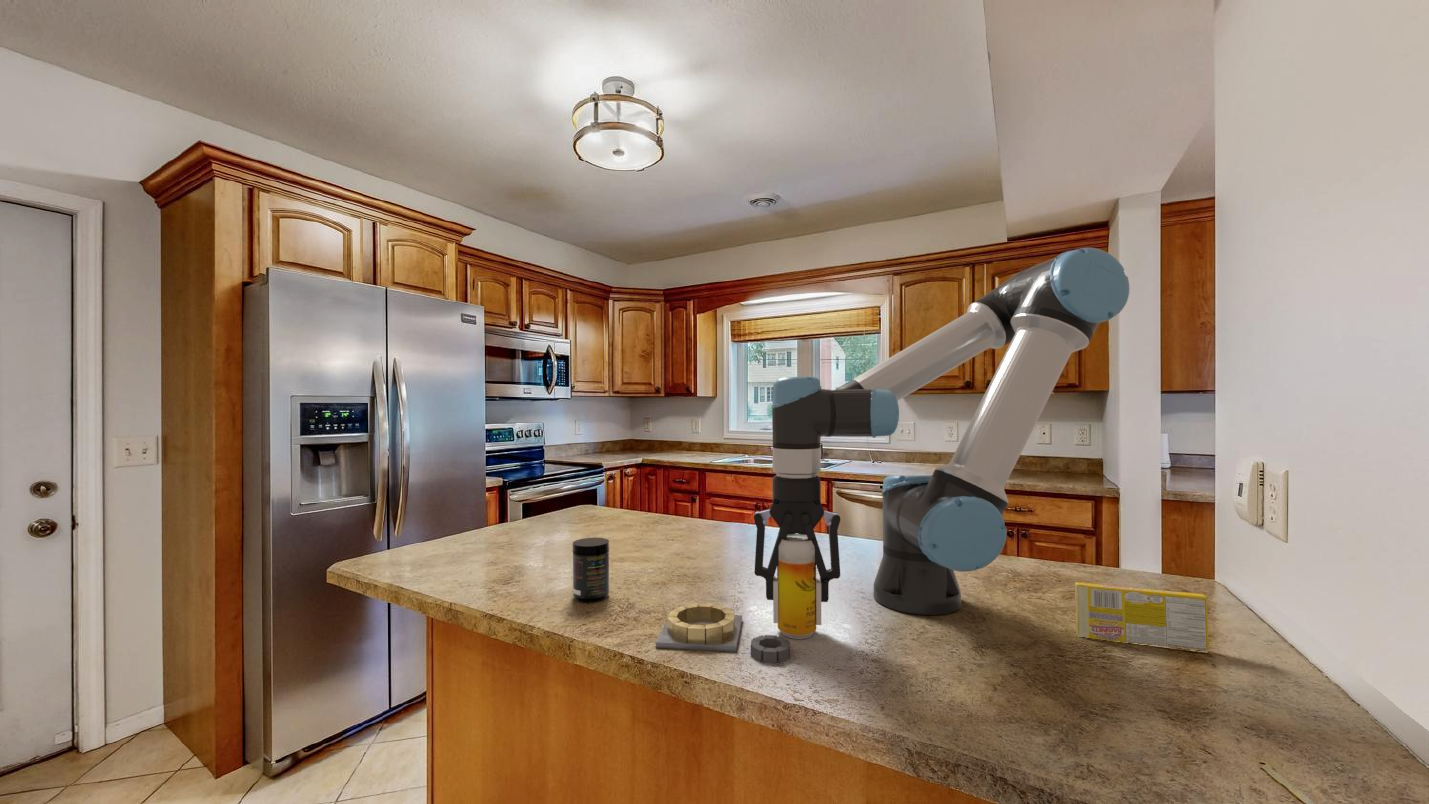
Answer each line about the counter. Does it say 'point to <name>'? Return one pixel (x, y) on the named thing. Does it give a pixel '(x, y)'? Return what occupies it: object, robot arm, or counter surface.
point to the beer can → (796, 587)
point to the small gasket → (770, 648)
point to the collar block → (701, 628)
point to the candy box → (1142, 616)
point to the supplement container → (590, 569)
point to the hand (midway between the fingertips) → (797, 620)
